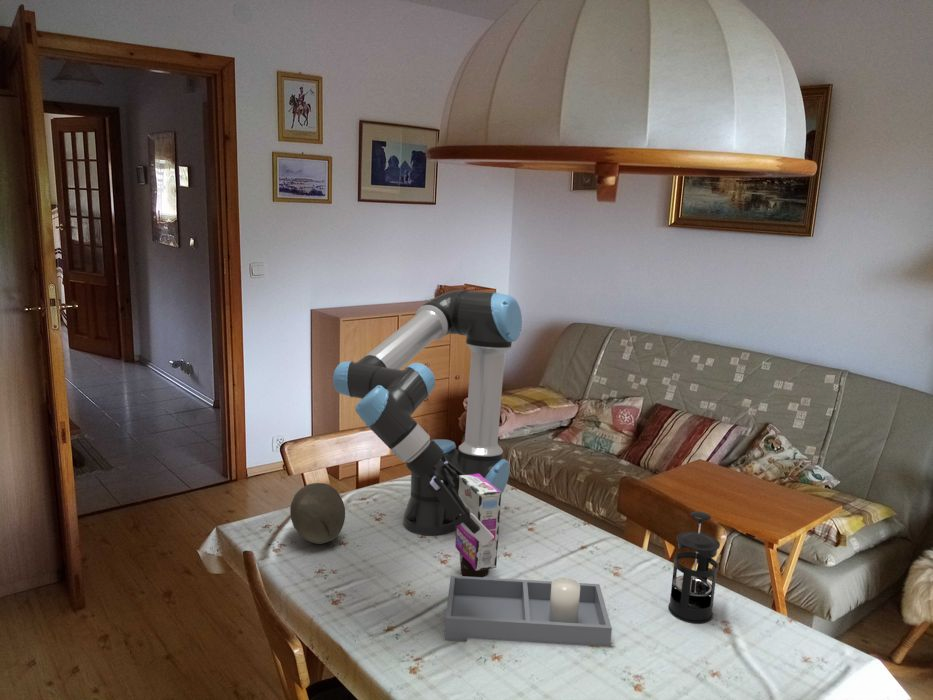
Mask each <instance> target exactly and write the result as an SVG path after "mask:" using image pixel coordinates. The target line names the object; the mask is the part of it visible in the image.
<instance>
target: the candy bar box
mask: <svg viewBox="0 0 933 700" xmlns="http://www.w3.org/2000/svg"><path fill="white" fill-rule="evenodd" d="M458 495H459V497H460V498H461V500H462V502H463V503H464V505H465V507H466V508H467V510H468V511H469V513H470V514H471V513H473V514H474V515H475V517H476V518H477V519H478V520H479V521H480V522H481V523H482V524H483V525H484V526H485V527H486V528H487V529H488V530H489V531H490V532H491V533H492V534H493V536H494V538H493V539H492V540H491V541H489V542H488V543H487V544H486V545H484V546H483V545H482V544H481V543H480V542H479V541H478V540H477V539H476V538H475V536H474V535H473V534H472V533H471V532H470V531H469V530H468V529H467V528H466V527H465V526H464V525H463V524H462V523H461V524H460V525H459V526H456V529H455V546H454V547H455V549H456V550H457V551H458V552H459V554H460V553H461V554H462V556H463V557H464V558H465V559H466V560H467V561H468V562H469V564H470V565H471V566H472V567H473V568H474V569H475V571H479V570H486V569H489V570H492V569H496V568H497V561H498V560H497V559H498V547H499V546H498V545H499V544H498V542H499V531H500V529H499V528H500V519H501V518H500V515H501V503H502V494H501V492H500V491H499V490H498V489H497V488H496V487H494V486H493V485H492V484H491V483H490V482H488V481H487V480H486V479H485V478H484V477H482V476H481V475H480V474H468V475H460V476H459V490H458ZM460 515H461V514H460Z"/></svg>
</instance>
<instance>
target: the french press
mask: <svg viewBox="0 0 933 700" xmlns="http://www.w3.org/2000/svg"><path fill="white" fill-rule="evenodd" d="M690 516H691V517H692V518H693V519H696V520H697V523H698V531H682V532H680V533H678V534H677V535H676V541H677V542H678V543H677V548H678V550H682V549H689V550H693V551H683V552H678V553H677V554H675V555H674V558H673V559H674V561H673V571H672V579H671V580H672V582H671V589H670V596H669V597H670V598H669V603H668V606H667V608H668V612H669V613H670V614H671V615H672V616H673V617H675V618H676V619H678V620H680V621H683V622H686V623H689V624H697V625H699V624H706V623H708V622H710V621H712V619H713V615H714V613H713V606H714V597H715V589H716V581H717V575H718V574H717V571H718V562H717V561H716V560H715V559H714V558H715V557H716V556H717V553H718V550H719V549H720V546H721V543H720V541H719V540H718V539H717V538H715V537H713V536H712V535H710V534H707V533H705V532H704V533H703V532H701V526H702V524H703V521H709V520H711V519H712V516H711V515H710V514H709V513H707V512H704V511H692V512H690ZM694 551H695V552H694ZM684 558H686V559H687V558H688V559H689V558H691V559H694V568H693V569H691V568H687V567H685V566H683V565H682V564H680V563H679V562H678V561H679V560H680V559H684ZM710 565H711V566H712V567H713V569H711V570H709V567H710ZM678 571H679V572H680V573H682V575H679V576H677V575H678V574H677V573H678ZM708 578H712V581H711V583H710V582H709V581H708ZM690 603H691V604H695V605H697V606H699V607H701V608H695V607H689V604H690Z"/></svg>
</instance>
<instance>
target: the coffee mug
mask: <svg viewBox="0 0 933 700" xmlns="http://www.w3.org/2000/svg"><path fill="white" fill-rule="evenodd" d="M459 563H460V576H468V577H485V578H486V577H487V576H488V575H489V571H490V569H486V570H479V571H475V569H474V568H473V567H472V566H471V565H470V564H469V562H468V561H467V560H466V559H465V558H464V557H463V556H462V554H461V553H460V552H459Z"/></svg>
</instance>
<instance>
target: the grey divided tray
mask: <svg viewBox="0 0 933 700" xmlns="http://www.w3.org/2000/svg"><path fill="white" fill-rule="evenodd" d="M552 581H553V580H552ZM552 581H549V580H536V579H535V580H534V579H533V580H532V579H517V578H498V577H486V576H485V577H468V576H462V575H450V580H449V587H448V593H447V595H448V596H447V604H446V612H445V621H444V623H445V624H444V641H455V642H468V639H475V640H478V639H479V640H496V641H509V642H510V641H511V642H528V643H546V644H559V645H560V644H561V645H574V646H575V645H577V646H591V647H593V646H594V647H608V648H609V647H611V641H612V631H613V630H612V629H613V628H612V624H611V621H610V617H609V613H608V611H607V607H606V602H605V599H604V596H603V592H602V588H601V585H600V584H599V583H588V582H587V583H584V582H578V583H579V584H580V598H579V611H578V623H563V622H550V620H549V611H550V597H551V583H552Z"/></svg>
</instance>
